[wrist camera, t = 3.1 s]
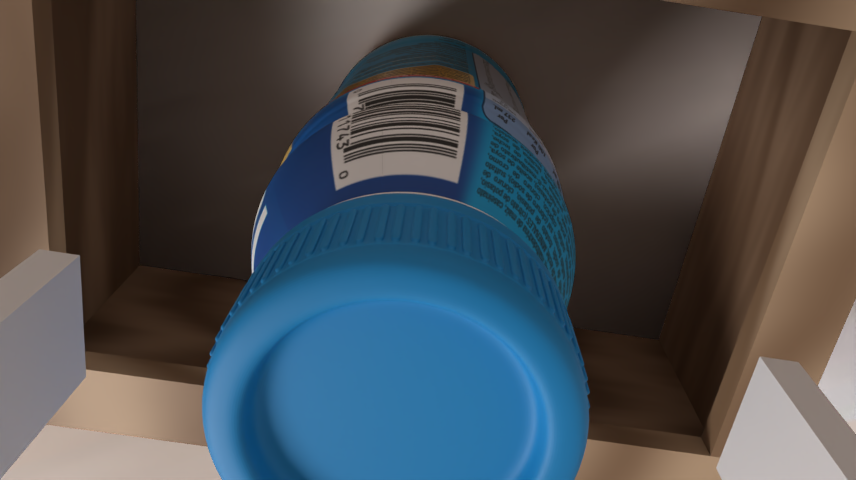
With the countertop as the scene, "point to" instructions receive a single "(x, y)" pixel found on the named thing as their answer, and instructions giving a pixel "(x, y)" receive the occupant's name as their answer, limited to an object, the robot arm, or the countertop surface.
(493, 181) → the beverage bottle
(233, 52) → the countertop surface
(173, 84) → the countertop surface
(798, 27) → the walnut box
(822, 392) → the robot arm
